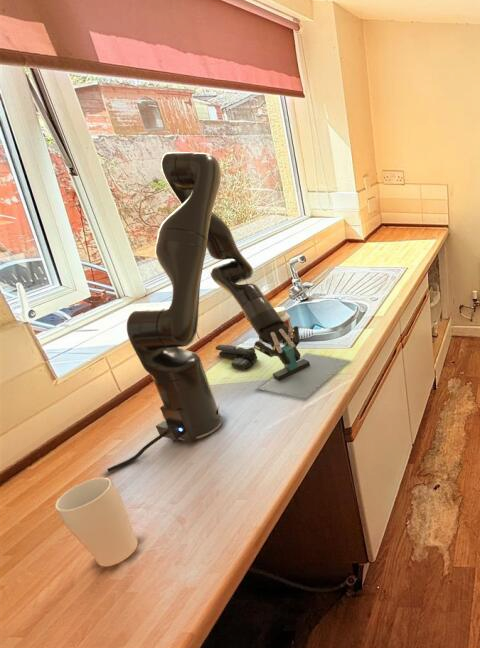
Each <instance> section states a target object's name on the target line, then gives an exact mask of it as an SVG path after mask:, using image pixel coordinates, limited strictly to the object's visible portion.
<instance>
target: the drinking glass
mask: <svg viewBox="0 0 480 648" xmlns="http://www.w3.org/2000/svg"><path fill="white" fill-rule="evenodd" d="M54 508H55V510H56V512H57V514H58V516H59V518H60V520H61V521H62V523H63V524H64V525H65V527H66V528H67V529H68V530H69V531H70V533H71V534H72V535H73V536H74V537H75V538H76V539H77V540H78V542H79V543H80V544H81V545H82V546H83V548H85V550H87V551H88V553H89V554H90V556H92V557H93V558H94V560H95V561H96V563H97V564H98V565H99V566H101V567H104V568H105V567H106V568H107V567H112V566H115V565H118V564H120V563H122V562H124V561H125V560H127V559H128V558H129V557H130V556H131V555H133V553H134V552H135V551H136V549H137V547H138V543H139V541H138V538H137V536H136V534H135V531H134V530H133V527H132V524H131V522H130V519H129V516H128V513H127V510H126V508H125V505H124V503H123V500H122V497H121V494H120V493H119V491H118V489H117V488H116V486H115V485H114V483H113V482H112V480H111V479H110V478H108V477H95V478H90V479H88V480H84V481H82V482H79V483H78V484H76V485H74V486H72V487H71V488H69V489H67V490H66V491H65V492H64V493H62V494H61V495H60V497H58V499H57V500H56V502H55V505H54Z"/></svg>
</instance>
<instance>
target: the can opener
mask: <svg viewBox="0 0 480 648" xmlns="http://www.w3.org/2000/svg"><path fill="white" fill-rule="evenodd" d="M214 349H215V350H217V351H219V352H218V355H219V356H220V357H223V358H226V359H233V361H232V362H231V364H230V365H231V366H232V368H235V369H238V370H245V369H247V368H249V367H251V366H252V364H253V363H255V362H256V361H257V360H258V357H257V353H256V349H255V348H254V346H252V347H249V348H244V347H242V346H236V345H229V344H218V345H216V346H215V348H214Z"/></svg>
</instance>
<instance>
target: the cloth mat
mask: <svg viewBox="0 0 480 648" xmlns="http://www.w3.org/2000/svg"><path fill="white" fill-rule="evenodd" d="M302 359H305V360H307V361H309V363H310V366H308V367H306V368H304V369H302V370H300V371H298V372H296V373H294V374H292V375H290V376H288V377H286V378H284V379H282V380H280V381H278V380H277V379H275V378H274V377H272V378H271V379H270V380H268V381H267V382H266V383H264V384H262V385H261V386H260V387H258V390H261V391H267V392H271V393H272V392H273V393H277V394H283V395H287V396H292V397H293V396H294V397H298V398H304V399H306V398H307V397H308V396H309V395H311V394H312V393H313V392H314V391H316V390H317V389H318V388H319V387H320V386H321V385H322V384H324V383H325V382H326V381H327V380H328V379H330V378H331V377H332V376H333V375H334V374H336V373H337V372H338V371H339V370H340V369H342V367H344V366H345V365H346V364H347V363H348V362H349V360H345V359H339V358H333V357H327V356H322V355H315V354H310V353H306V354H304V355H303V356H302V357H300V359H299V360H298V361H300V360H302ZM298 361H297V362H298Z"/></svg>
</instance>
